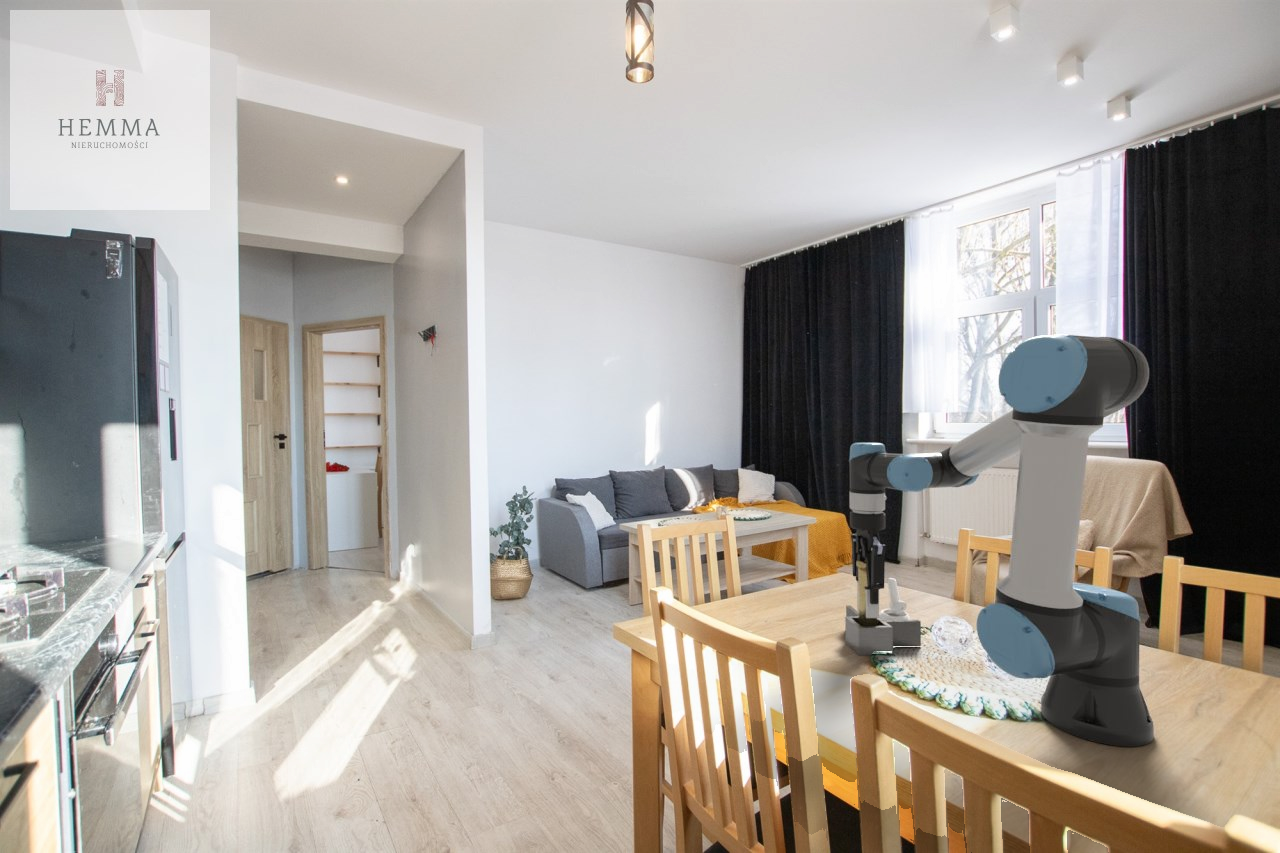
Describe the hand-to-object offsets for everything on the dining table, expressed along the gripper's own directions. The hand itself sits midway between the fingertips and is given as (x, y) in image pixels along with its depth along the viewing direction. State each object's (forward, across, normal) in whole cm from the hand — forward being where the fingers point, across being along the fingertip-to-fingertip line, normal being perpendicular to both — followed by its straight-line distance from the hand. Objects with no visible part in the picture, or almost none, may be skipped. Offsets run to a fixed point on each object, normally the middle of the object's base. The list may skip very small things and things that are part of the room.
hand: (868, 613), depth 135 cm
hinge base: (+8, +4, -4) cm, 10 cm away
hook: (+8, +19, -15) cm, 25 cm away
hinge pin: (+3, 0, 0) cm, 3 cm away
